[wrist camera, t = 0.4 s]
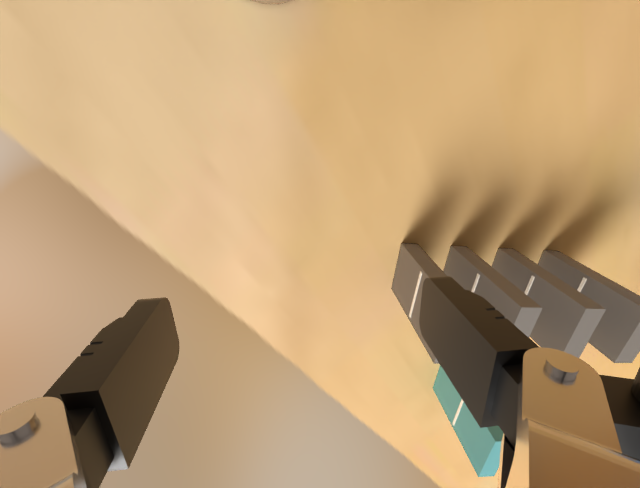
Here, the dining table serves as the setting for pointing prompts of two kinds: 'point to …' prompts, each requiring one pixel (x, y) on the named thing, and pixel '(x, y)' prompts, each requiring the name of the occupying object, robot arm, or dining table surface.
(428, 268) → the tile
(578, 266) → the tile
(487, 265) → the tile
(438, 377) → the end tile
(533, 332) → the tile
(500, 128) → the dining table surface
